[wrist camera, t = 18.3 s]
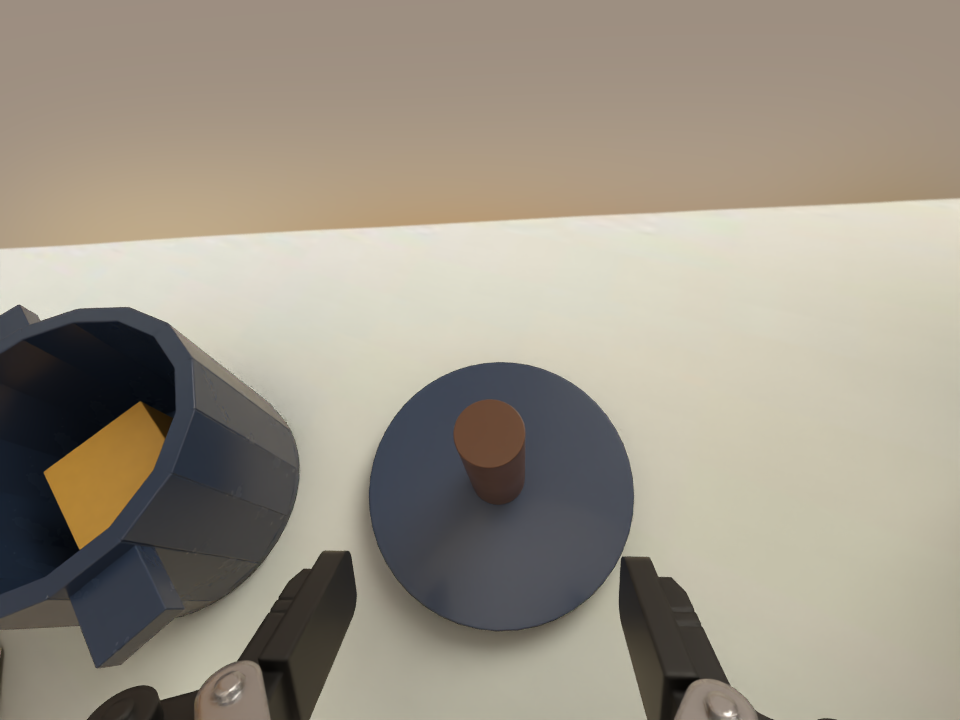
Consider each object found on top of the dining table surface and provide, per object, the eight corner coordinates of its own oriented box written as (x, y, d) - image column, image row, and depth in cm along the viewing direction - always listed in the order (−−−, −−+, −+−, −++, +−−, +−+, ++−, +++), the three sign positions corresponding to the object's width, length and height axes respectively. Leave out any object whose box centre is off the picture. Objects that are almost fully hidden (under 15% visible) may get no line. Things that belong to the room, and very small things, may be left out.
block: (202, 433, 27) (140, 400, 22) (244, 491, 25) (184, 467, 20) (125, 494, 25) (42, 472, 21) (162, 562, 23) (79, 552, 19)
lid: (499, 332, 29) (492, 242, 22) (683, 483, 23) (754, 430, 16) (327, 481, 25) (248, 433, 18) (498, 705, 20) (483, 764, 12)
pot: (218, 334, 31) (106, 235, 23) (370, 531, 24) (287, 492, 15) (37, 460, 27) (-175, 398, 19) (150, 737, 20) (-112, 831, 12)
